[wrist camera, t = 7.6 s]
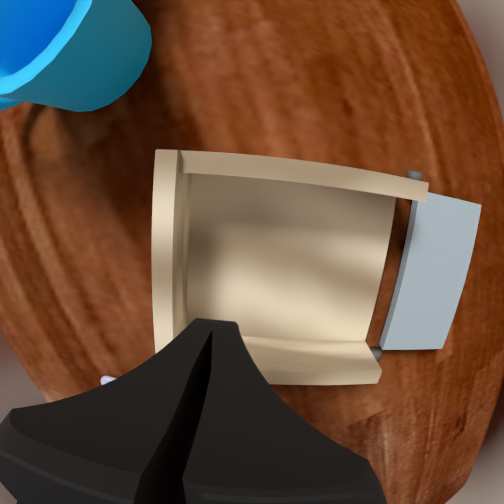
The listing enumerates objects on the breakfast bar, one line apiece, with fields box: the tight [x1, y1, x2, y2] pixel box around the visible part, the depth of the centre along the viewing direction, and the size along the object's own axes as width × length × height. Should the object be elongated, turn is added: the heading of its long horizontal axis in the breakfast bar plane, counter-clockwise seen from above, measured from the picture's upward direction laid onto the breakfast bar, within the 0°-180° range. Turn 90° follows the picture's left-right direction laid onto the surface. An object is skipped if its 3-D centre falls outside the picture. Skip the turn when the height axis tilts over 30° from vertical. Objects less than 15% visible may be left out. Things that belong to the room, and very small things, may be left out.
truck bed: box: [152, 149, 429, 385], centre depth 17 cm, size 13×15×5 cm
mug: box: [0, 0, 152, 112], centre depth 11 cm, size 12×8×8 cm
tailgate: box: [379, 192, 481, 350], centre depth 18 cm, size 11×1×5 cm
